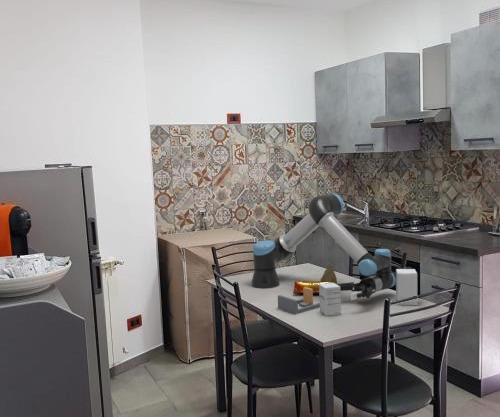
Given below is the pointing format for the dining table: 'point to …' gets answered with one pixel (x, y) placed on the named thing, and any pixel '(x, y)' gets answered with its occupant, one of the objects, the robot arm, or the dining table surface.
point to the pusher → (307, 297)
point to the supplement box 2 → (406, 285)
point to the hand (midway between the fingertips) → (339, 294)
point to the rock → (329, 276)
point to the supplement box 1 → (330, 299)
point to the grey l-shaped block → (293, 305)
